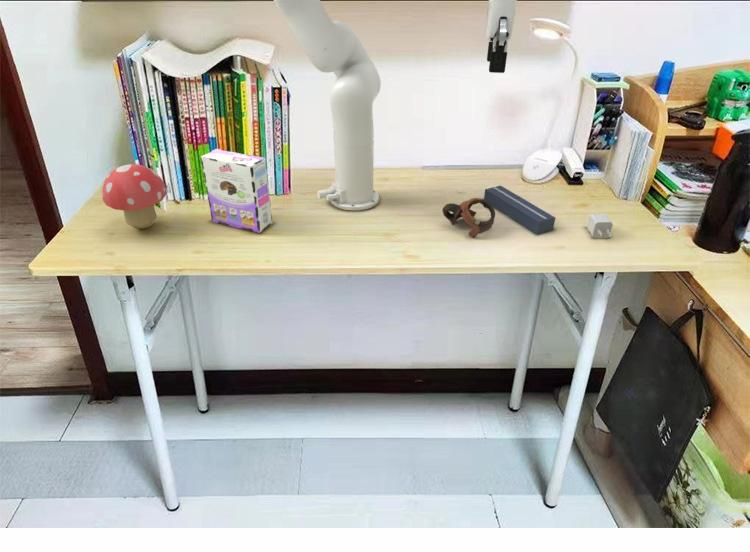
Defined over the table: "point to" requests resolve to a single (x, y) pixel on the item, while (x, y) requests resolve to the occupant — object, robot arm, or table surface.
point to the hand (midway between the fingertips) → (495, 66)
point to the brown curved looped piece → (469, 215)
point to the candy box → (237, 189)
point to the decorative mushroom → (134, 193)
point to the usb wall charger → (599, 225)
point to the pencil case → (519, 209)
